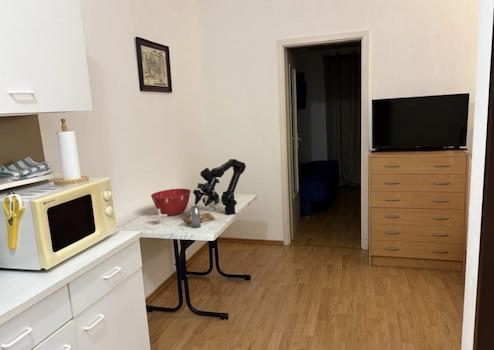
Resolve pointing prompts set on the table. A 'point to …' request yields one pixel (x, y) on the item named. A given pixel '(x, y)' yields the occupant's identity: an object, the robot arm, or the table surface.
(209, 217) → the mounting plate
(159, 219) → the pipe connector
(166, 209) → the mixing bowl
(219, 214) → the table surface
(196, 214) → the steel hub
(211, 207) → the pneumatic valve
